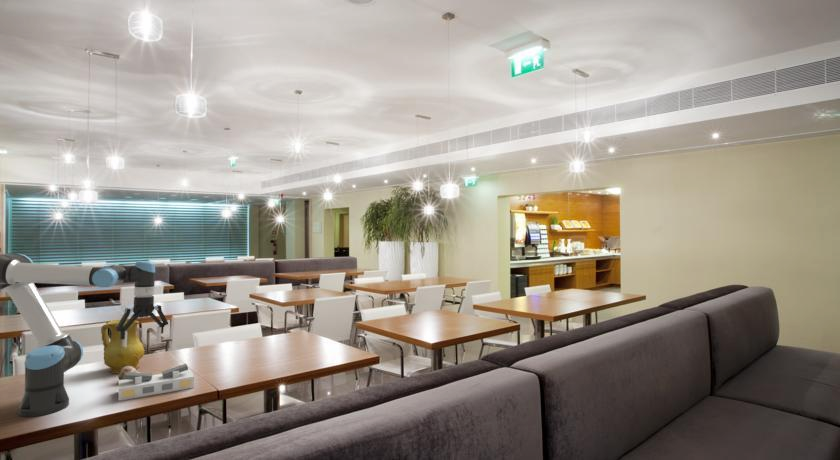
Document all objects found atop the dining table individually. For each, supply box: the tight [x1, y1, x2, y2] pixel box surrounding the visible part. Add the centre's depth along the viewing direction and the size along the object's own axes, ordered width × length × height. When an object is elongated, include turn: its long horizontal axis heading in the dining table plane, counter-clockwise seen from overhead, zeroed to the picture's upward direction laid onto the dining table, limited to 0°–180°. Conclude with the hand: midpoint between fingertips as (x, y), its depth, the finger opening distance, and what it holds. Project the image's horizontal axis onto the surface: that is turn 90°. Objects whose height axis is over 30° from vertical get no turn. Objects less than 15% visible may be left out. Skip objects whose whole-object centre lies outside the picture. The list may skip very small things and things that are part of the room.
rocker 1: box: [124, 372, 153, 380], centre depth 189 cm, size 10×5×2 cm, turn 125°
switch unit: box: [118, 366, 195, 401], centre depth 193 cm, size 28×12×8 cm, turn 125°
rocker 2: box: [161, 363, 189, 378], centre depth 197 cm, size 10×5×2 cm, turn 124°
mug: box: [117, 366, 139, 381], centre depth 204 cm, size 8×10×10 cm
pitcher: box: [100, 318, 145, 374], centre depth 221 cm, size 17×19×25 cm
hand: (142, 343), depth 193 cm, fingers open, 13 cm apart
